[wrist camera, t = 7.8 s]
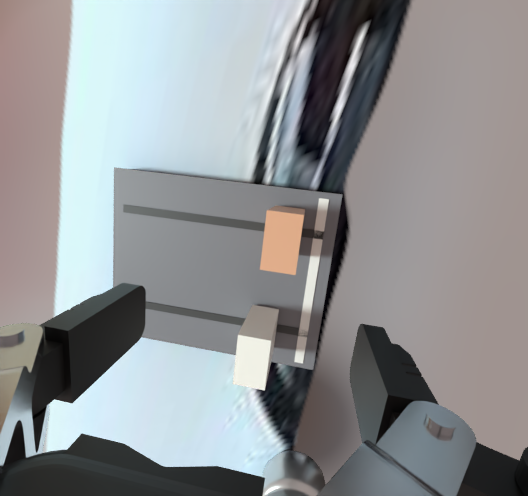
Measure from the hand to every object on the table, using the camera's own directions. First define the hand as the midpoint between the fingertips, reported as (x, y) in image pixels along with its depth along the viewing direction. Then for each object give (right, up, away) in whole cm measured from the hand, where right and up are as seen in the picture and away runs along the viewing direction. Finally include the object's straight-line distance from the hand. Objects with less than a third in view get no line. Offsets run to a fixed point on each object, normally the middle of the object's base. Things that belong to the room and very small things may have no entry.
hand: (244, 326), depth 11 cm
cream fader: (+1, -4, +16) cm, 16 cm away
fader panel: (-3, +1, +18) cm, 18 cm away
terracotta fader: (+3, +4, +14) cm, 15 cm away
